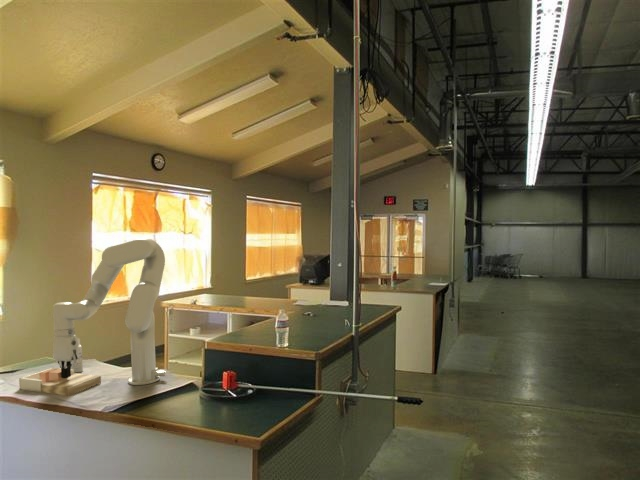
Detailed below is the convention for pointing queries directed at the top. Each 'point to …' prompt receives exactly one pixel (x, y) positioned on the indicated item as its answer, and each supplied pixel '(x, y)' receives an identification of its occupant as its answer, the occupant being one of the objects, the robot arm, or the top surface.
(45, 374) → the tile
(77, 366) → the ink box
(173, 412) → the top surface
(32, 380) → the tray
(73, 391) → the board
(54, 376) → the tile
